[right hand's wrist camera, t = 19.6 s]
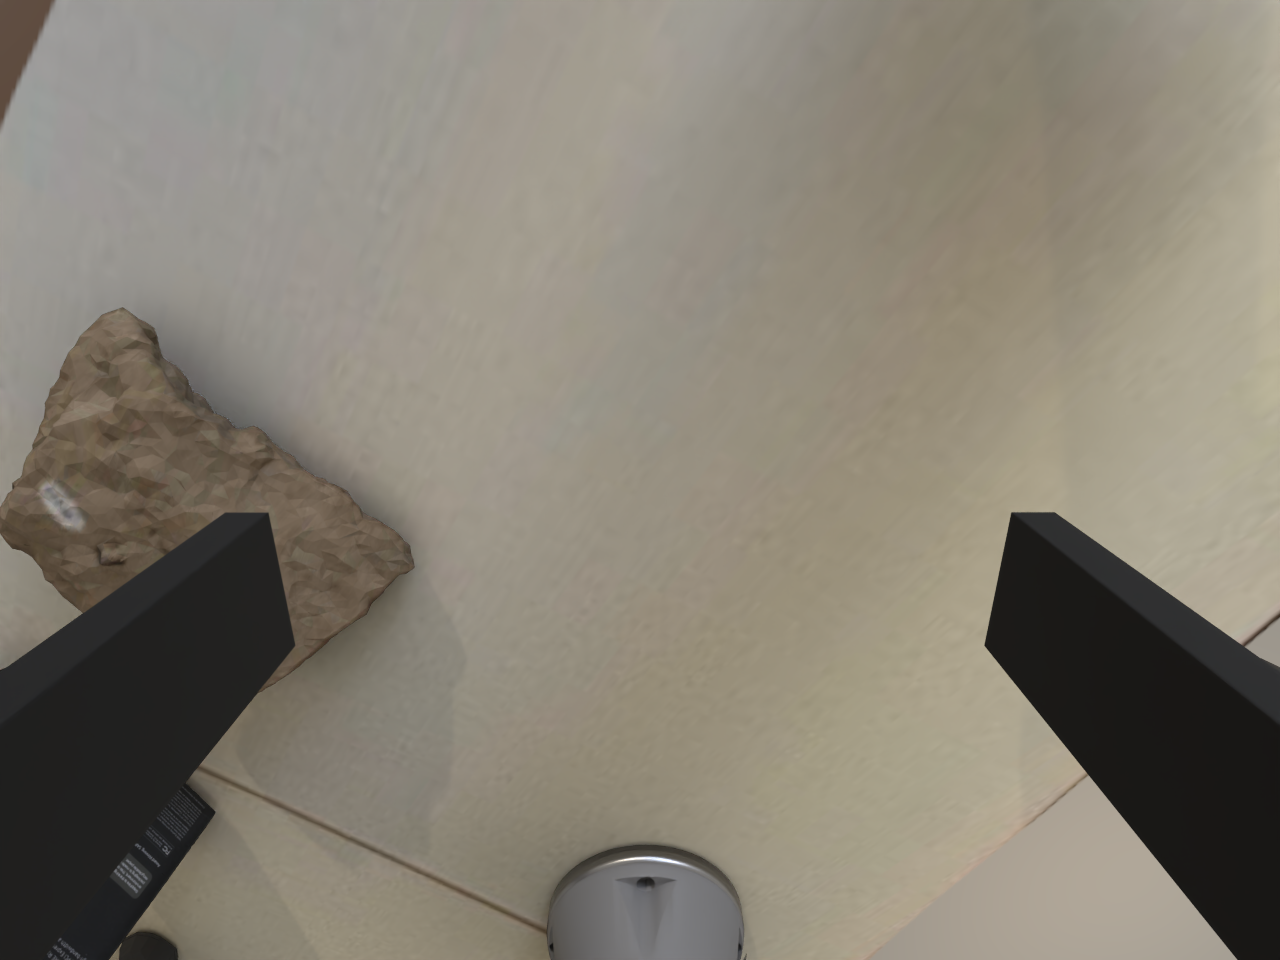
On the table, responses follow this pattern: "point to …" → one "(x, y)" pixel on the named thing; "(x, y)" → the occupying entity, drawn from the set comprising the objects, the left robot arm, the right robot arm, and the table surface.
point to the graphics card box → (135, 881)
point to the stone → (180, 490)
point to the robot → (146, 948)
